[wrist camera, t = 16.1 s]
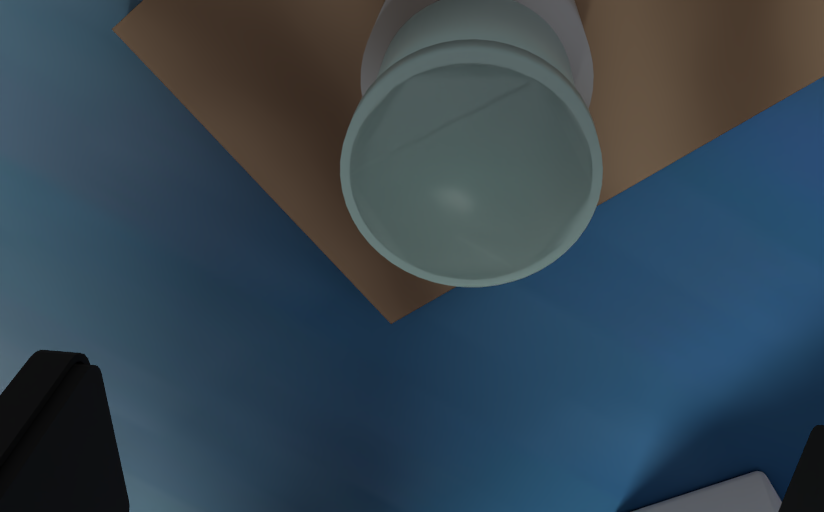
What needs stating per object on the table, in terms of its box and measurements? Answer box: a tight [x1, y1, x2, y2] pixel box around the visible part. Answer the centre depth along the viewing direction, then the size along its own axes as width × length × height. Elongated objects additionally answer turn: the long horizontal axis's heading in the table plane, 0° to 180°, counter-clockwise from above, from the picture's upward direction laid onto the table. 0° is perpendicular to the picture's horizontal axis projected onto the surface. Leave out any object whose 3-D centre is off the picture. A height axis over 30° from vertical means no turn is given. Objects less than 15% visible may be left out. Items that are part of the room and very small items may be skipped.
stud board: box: [112, 0, 824, 324], centre depth 23 cm, size 18×14×5 cm
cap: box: [340, 0, 603, 287], centre depth 18 cm, size 5×5×5 cm
